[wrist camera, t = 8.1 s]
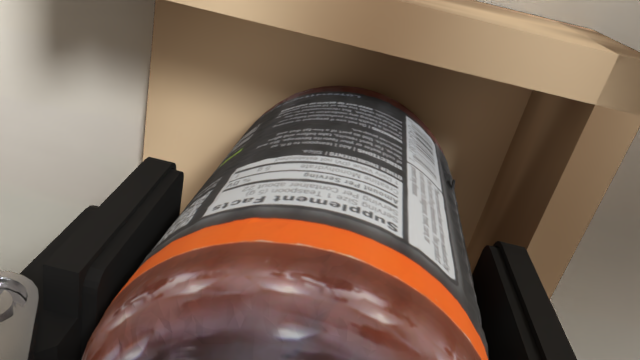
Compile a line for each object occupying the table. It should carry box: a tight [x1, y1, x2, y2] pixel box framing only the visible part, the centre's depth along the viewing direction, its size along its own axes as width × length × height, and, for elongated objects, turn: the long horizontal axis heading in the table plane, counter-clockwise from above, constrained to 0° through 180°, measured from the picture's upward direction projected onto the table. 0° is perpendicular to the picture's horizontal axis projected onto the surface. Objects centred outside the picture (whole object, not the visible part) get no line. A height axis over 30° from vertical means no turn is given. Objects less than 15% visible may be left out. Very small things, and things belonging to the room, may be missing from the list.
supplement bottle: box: [82, 85, 489, 360], centre depth 10 cm, size 6×6×11 cm
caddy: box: [143, 0, 640, 300], centre depth 14 cm, size 11×11×4 cm
